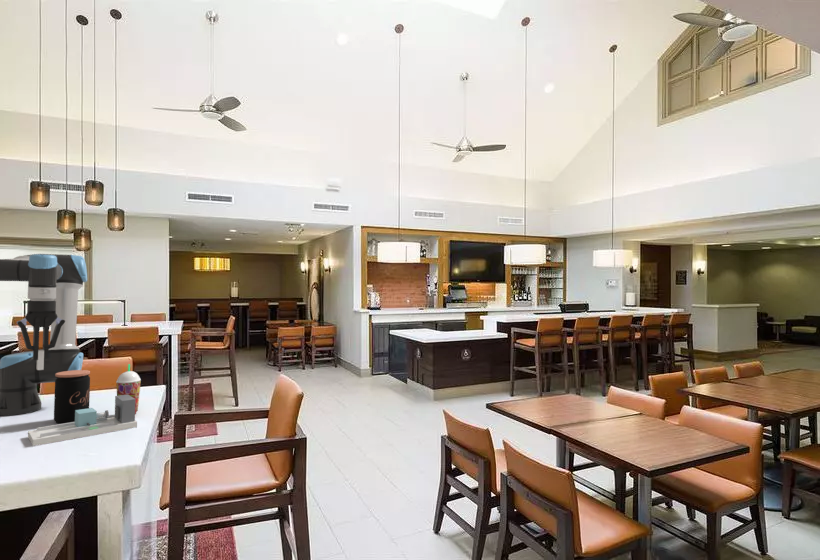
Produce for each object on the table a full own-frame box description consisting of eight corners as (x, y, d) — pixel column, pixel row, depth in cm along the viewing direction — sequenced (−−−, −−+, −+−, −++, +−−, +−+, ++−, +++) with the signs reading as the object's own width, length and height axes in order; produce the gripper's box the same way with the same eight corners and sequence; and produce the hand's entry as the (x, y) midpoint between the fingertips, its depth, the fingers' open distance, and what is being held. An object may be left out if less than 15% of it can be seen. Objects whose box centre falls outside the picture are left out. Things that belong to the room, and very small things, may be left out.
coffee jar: (70, 425, 164) (71, 375, 164) (46, 423, 166) (47, 374, 166) (95, 417, 174) (97, 370, 175) (73, 415, 176) (74, 369, 177)
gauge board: (28, 437, 150) (29, 407, 150) (127, 420, 171) (128, 393, 171) (32, 446, 142) (34, 414, 142) (137, 427, 163) (137, 399, 163)
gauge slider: (74, 424, 157) (75, 410, 157) (105, 419, 163) (105, 405, 164) (80, 430, 151) (80, 415, 151) (111, 425, 157) (112, 410, 157)
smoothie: (111, 418, 173) (113, 366, 173) (119, 412, 181) (120, 362, 181) (136, 417, 175) (137, 365, 176) (142, 411, 183) (144, 362, 184)
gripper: (18, 300, 146) (16, 373, 146) (68, 300, 155) (66, 368, 155) (15, 299, 151) (13, 370, 151) (63, 299, 160) (61, 365, 160)
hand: (40, 369), depth 153 cm, fingers closed
